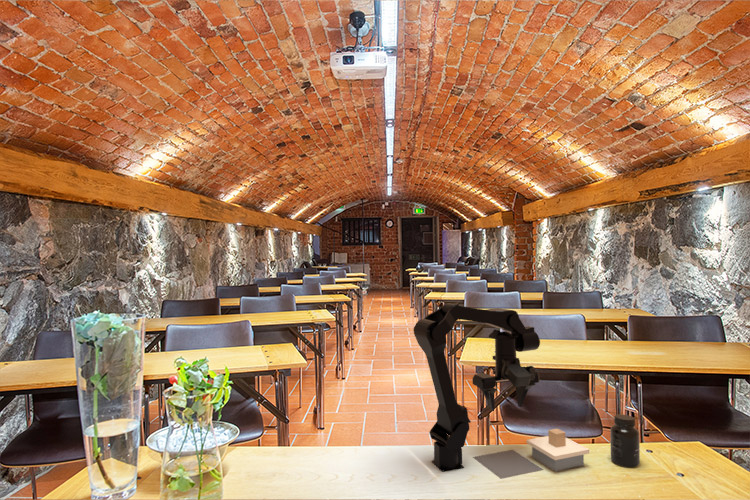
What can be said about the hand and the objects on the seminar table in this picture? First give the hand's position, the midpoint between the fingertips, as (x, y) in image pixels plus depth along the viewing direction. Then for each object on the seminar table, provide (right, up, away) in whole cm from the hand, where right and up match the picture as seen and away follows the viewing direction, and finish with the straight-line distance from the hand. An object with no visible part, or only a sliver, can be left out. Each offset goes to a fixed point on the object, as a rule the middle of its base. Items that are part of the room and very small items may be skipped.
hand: (506, 408), depth 131 cm
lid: (+11, -8, -8) cm, 16 cm away
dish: (+11, -12, -8) cm, 18 cm away
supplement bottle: (+29, -12, -8) cm, 33 cm away
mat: (-2, -12, -8) cm, 15 cm away
